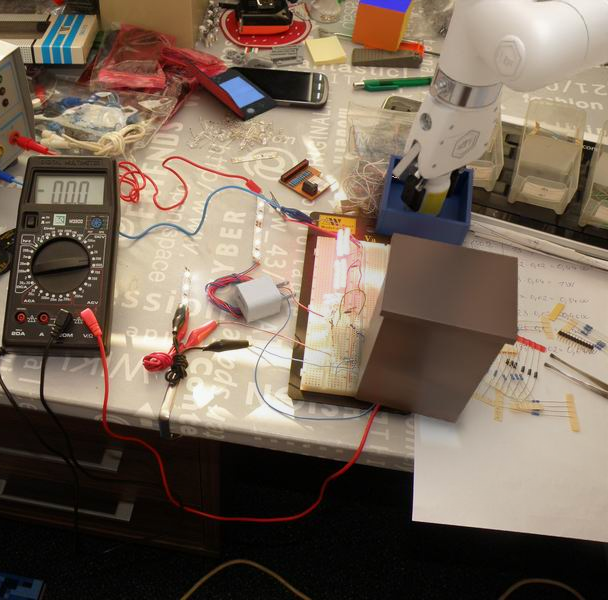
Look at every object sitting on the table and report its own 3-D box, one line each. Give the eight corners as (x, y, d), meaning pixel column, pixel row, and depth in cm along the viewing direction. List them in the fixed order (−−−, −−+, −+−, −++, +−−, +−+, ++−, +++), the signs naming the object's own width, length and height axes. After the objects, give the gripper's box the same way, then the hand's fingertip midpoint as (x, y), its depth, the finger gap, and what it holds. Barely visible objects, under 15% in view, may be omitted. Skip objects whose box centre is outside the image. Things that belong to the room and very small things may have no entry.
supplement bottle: (443, 209, 93) (461, 162, 86) (430, 230, 90) (448, 184, 84) (410, 196, 94) (425, 149, 88) (397, 216, 92) (412, 170, 85)
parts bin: (462, 197, 95) (474, 169, 91) (457, 254, 89) (470, 226, 84) (383, 182, 97) (391, 154, 93) (373, 237, 91) (381, 209, 86)
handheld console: (280, 109, 108) (284, 69, 102) (226, 134, 104) (227, 94, 98) (233, 72, 114) (234, 32, 108) (181, 94, 110) (179, 54, 104)
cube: (405, 33, 121) (416, -10, 115) (394, 56, 117) (405, 12, 110) (363, 23, 123) (371, -20, 117) (350, 45, 119) (358, 2, 112)
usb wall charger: (234, 302, 84) (235, 282, 81) (284, 286, 85) (286, 266, 82) (247, 326, 82) (248, 307, 78) (298, 309, 83) (301, 289, 80)
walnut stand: (462, 357, 79) (518, 257, 65) (457, 431, 73) (517, 339, 59) (360, 334, 81) (393, 232, 67) (348, 404, 75) (381, 309, 61)
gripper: (431, 122, 71) (393, 238, 86) (546, 76, 76) (492, 193, 91) (386, 85, 75) (357, 202, 89) (499, 44, 80) (454, 161, 94)
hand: (426, 197), depth 90 cm, fingers closed on supplement bottle, 4 cm apart
